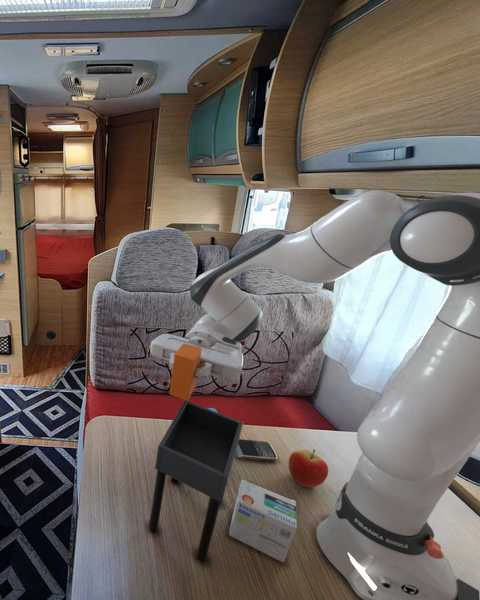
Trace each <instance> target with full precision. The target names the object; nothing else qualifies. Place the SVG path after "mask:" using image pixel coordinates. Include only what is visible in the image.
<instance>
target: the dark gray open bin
mask: <svg viewBox="0 0 480 600" xmlns="http://www.w3.org/2000/svg"><path fill="white" fill-rule="evenodd" d="M217 412H218V411H217ZM217 412H214V411H212V410H209V409H208V407H203V406H201V405H199V404H195V403H194V402H190V401H189V400H188V401H186V400H184V401H183V402H182V404H181V405H180V408H179V409H178V411H177V413H176V414H175V417H174V418H173V420H172V421H171V423H170V425H169V427H168V429H167V430H166V432H165V434H164V435H163V437H162V439H161V441H160V442H159V444H158V446H157V452H156V459H155V467H154V468H155V470H156V471H157V470H158V471H160V472H162V473H164V474H166V476H168V477H170V478H174V479H176V480H178V481H179V482H180V483H182V484H184V485H186V486H188V487H190V488H191V489H194V490H196V491H197V492H200V493H202V494H203V495H205V496H208V497H209V498H210V497H211V498H213V499H215V500H217V501H219V502H222V503H223V500H224V496H225V492H226V489H225V488H227V485H228V481H229V478H230V475H231V470H232V467H233V463H234V460H235V456H236V455H235V453H236V449H237V446H238V442H239V439H240V437H241V434H242V429H243V426H244V421H241V420H238V419H236V418H233V417H231V416H228V415H225V414H222V413H220V412H218V413H217ZM223 495H224V496H223ZM222 499H223V500H222Z"/></svg>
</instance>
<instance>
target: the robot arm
mask: <svg viewBox="0 0 480 600" xmlns="http://www.w3.org/2000/svg"><path fill="white" fill-rule="evenodd" d="M390 252H392V253H393V255H394V256H395V258H396V259H398V261H400V262H401V263H402V264H404V265H405V266H407V267H409V268H410V269H412V270H414V271H416V272H419V273H421V274H423V275H425V276H427V277H429V278H431V279H433V280H434V281H436V282H438V283H440V284H442V285H444V286H449V288H448V289H449V290H448V292H447V294H446V296H445V299H444V301H443V302H442V304H441V305H440V307H439V309H438V311H437V312H436V314H435V316H434V317H433V319H432V321H431V322H430V324H429V326H428V327H427V329H426V331H425V333H424V334H423V336H422V338H421V339H420V341H419V343H418V345H416V346H417V347H416V348H415V350H414V351H413V353H412V355H411V356H410V358H409V359H408V360H407V361H406V363H405V364H404V365H403V366H402V368H401V369H400V370H399V372H397V374H396V375H395V377H394V378H393V379H392V380H391V382H390V383H389V384H388V386H387V387H386V388H385V390H384V391H383V393H382V394H381V395H380V397H379V398H378V399H377V401H376V402H375V404H374V405H373V406H372V408H371V410H370V411H369V412H368V414H367V415H366V417H365V418H364V419H363V421H362V422H361V424H360V425H359V427H358V429H357V432H356V440H357V444H358V446H359V450H360V451H361V452H362V453H361V455H360V456H359V458H358V460H357V463H356V464H355V467H354V469H353V472H352V473H351V476H350V478H349V480H348V481H347V482H346V483H345V484H344V485H343V487H342V489H341V490H340V491H339V494H338V496H337V497H336V500H335V506H334V509H333V510H332V512H330V514H329V515H328V516H327V517H326V518H325V519H324V520H322V521H321V522H320V523H318V524H317V527H316V539H317V542H318V545H319V547H320V549H321V551H322V552H323V554H324V555H325V557H326V558H327V560H328V561H329V562H330V563H331V564H332V566H334V567H335V569H336V570H337V571H338V572H339V573H340V574H341V575H342V576H343V577H344V578H345V579H346V580H347V582H348V584H349V585H350V587H351V588H352V590H353V591H354V593H355V594H356V595H357V596H358V597H359V598H360V599H362V600H480V590H479V589H477V588H475V587H474V586H472V585H470V584H469V583H468V582H467V583H466V582H465V581H464V580H462V579H460V578H457V577H456V574H455V572H454V570H453V567H452V565H451V563H450V561H449V559H448V558H447V556H446V554H445V552H443V551H442V549H441V548H442V546H441V545H440V544H439V542H436V541H434V538H435V533H434V530H433V528H432V527H431V526H430V525H429V521H428V519H429V518H430V516H431V515H432V513H433V511H434V510H435V508H436V506H437V504H438V503H439V502H440V500H441V498H442V497H443V495H444V494H445V492H446V491H447V490H448V488H449V487H450V485H452V483H453V481H454V480H455V478H456V477H457V476H458V474H459V473H460V471H461V470H462V468H463V467H464V465H465V464H466V463H467V462H468V460H469V458H470V456H471V455H472V454H473V452H474V451H475V449H476V448H477V446H478V445H479V444H480V192H456V193H450V194H445V195H441V196H436V197H433V198H432V197H431V198H429V199H426V200H424V201H421V202H419V203H417V204H415V205H413V204H410V203H408V202H407V201H405V200H404V199H403V198H401V197H400V196H399V195H398V194H395V193H392V192H390V191H386V190H381V189H372V190H371V189H370V190H367V191H364V192H361V193H359V194H357V195H356V196H354V197H352V198H350V199H349V200H347V201H345V202H344V203H342V204H340V205H339V206H337V207H335V208H334V209H333V210H331V211H329V212H328V213H326V214H325V215H323V216H322V217H320V218H319V219H318V220H317V221H315V222H313V224H311V225H310V226H309V227H307V228H306V229H304V230H301V231H299V232H295V233H291V234H286V235H285V234H283V233H275V234H272V235H270V236H268V237H266V238H263V239H262V240H259V241H258V242H256V243H255V244H252V245H251V246H249V247H248V248H246V249H244V250H242V251H240V252H239V253H238V254H236V255H234V256H232V257H231V258H229V259H228V260H226V261H224V262H223V263H221V264H219V265H217V266H215V267H214V268H212V269H209V270H206V271H205V272H202V273H201V274H199V275H198V276H197V277H196V278H195V279H194V280H193V281H192V283H191V284H190V287H189V295H190V300H192V301H193V302H194V303H195V304H196V305H197V306H199V307H200V308H202V309H203V310H204V311H205V312H206V314H204V315H203V316H202V317H200V318H199V319H198V320H197V321H196V322H195V323H194V325H193V327H191V328H190V330H189V331H188V332H187V333H186V334H185V336H184V337H183V336H179V335H174V334H171V333H162V334H159V335H158V336H157V337H155V338H154V339H152V341H151V342H150V347H149V349H150V351H149V352H150V355H151V356H152V357H155V358H158V359H161V360H164V361H168V362H169V365H168V370H171V371H173V363H174V356H175V353H176V352H177V351H178V350H179V348H180V347H181V346H182V345H183V343H185V344H189V345H192V346H196V347H199V348H202V351H201V357H200V363H199V367H197V368H196V369H195V372H194V377H195V378H197V380H202V378H203V377H205V376H210V375H211V376H215V377H218V378H222V379H224V380H227V381H230V382H238V381H240V378H241V374H242V370H243V364H244V354H243V353H242V347H243V346H242V343H240V342H242V341H244V340H246V339H247V338H249V337H250V336H252V334H254V332H256V330H257V329H258V328H259V326H260V325H261V322H262V318H263V310H262V308H260V307H259V305H258V304H257V303H256V302H255V301H253V300H252V298H251V297H249V296H248V295H247V294H246V293H245V292H244V291H243V290H242V289H240V287H238V286H237V285H236V284H235V283H234V282H233V280H232V279H233V278H235V277H238V276H239V275H240V274H241V275H242V273H245V272H246V271H249V270H250V269H252V268H257V267H258V268H259V267H260V268H266V269H270V270H273V271H276V272H278V273H281V274H284V275H285V276H288V277H290V278H292V279H294V280H297V281H300V282H304V283H309V284H327V283H331V282H334V281H336V280H338V279H341V278H343V277H345V276H346V275H348V274H350V273H351V272H354V271H356V270H357V269H358V268H360V267H362V266H363V265H365V264H367V263H369V262H370V261H371V260H373V259H375V258H377V257H379V256H381V255H384V254H386V253H390Z"/></svg>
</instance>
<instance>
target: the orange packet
mask: <svg viewBox="0 0 480 600" xmlns="http://www.w3.org/2000/svg"><path fill="white" fill-rule="evenodd" d="M201 351H202V348H199V347H196V346H192V345H189V344H185V343H183V345H182V346H181V347H180V348H179V350H178V351H177V352H176V353H175V356H174V363H173V370H171V371H172V372H171V379H170V386H169V393H168V394H169V396H172V397H176V398H179V399H181V400H184V401H188V402H189V399H190V398H191V396H192V394H193V393H194V390H195V388H196V386H197V380H198V378H195V377H194V372H195V369H196V368H197V367H199V363H200V357H201Z"/></svg>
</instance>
